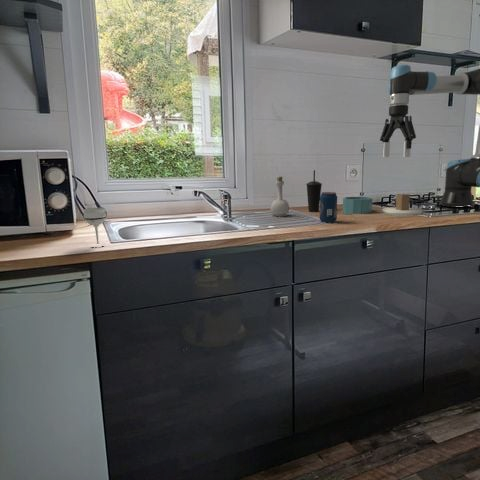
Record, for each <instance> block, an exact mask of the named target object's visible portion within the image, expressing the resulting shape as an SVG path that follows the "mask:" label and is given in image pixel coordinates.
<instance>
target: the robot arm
mask: <svg viewBox="0 0 480 480" xmlns="http://www.w3.org/2000/svg"><path fill="white" fill-rule="evenodd" d="M411 69H412V67H411V65H408V64H400V65H395V66H393V67H392V68H391V70H390V77H389V80H390V81H389V82H390V83H389V85H388V93H389V107H388V116H389V117H390V118H385V122H384V126H383V128H382V133H381V135H380V138H379V141H380V142H382V150H383V152H382V158H390V149H391V142H390V139H391V137H392V136H393V134H394V132H395V131H396V130H398V129H400V131H401V134H402V135H403V137H404V142H403V158H411V151H412V150H411V149H412V143H413V140H414V139H416V138H417V135H416V132H415V128H414V126H413V120H412V118H413V117H412V115H408V114H409V102H410V96H415V95H432V94H433V95H435V94H447V93H448V94H452V93H454V94H456V95H473V96H474V95H480V67H479V68H477V69H474V70H471V71H470V70H469V71H466V72H459V73H457V74H455V75H436V73H435V72H433V71H427V70H425V71H413V70H411ZM478 127H479V128H478V133H477V139H476V147H475V152H474V154H473V155H472V156H471V157H470V158H466V159H465V158H462V159H455V160H449V161H448V162H447V164H446V165H447V166H446V170H445V182H444V183H445V184H444V193H443V194H442V196H441V200H440V201H439V205H440V204H441V205H445V206H464V205H472V204H474V205H475V201H474V198H473V194H472V188H480V125H479V126H478Z"/></svg>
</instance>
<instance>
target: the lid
mask: <svg viewBox="0 0 480 480" xmlns="http://www.w3.org/2000/svg"><path fill="white" fill-rule="evenodd" d="M395 197H396V198H395V207H384V208H382V209H381V210H382V212H383V213H382V214H384V213H386V214H385V215H389V214H394V215H409V216H418V215H417V214H422V212H424V210H423V209H420V208H416V207H410V200H411V199H410V197H411V194H408V193H397V194H396V196H395ZM394 215H393V216H394Z"/></svg>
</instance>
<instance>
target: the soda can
mask: <svg viewBox="0 0 480 480" xmlns="http://www.w3.org/2000/svg"><path fill="white" fill-rule="evenodd" d="M336 193H337V192H335V191H333V192H332V191H323V192H322V191H321V194H320V203H319V220H320V222H321V223H323V222H333V223H336V221H337V219H338V196H337V194H336Z"/></svg>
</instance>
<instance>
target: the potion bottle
mask: <svg viewBox="0 0 480 480" xmlns="http://www.w3.org/2000/svg"><path fill="white" fill-rule="evenodd" d="M283 177H284V176H278V177H277V178H276V180H275V185H276V186H277V199H274V200H273V201H272V203H271V204H270V213H271V214H272V217H275V216H285V217H287V216H288V214H289V212H290V205H289V203H288V200H285V199H283V186H284V181H283Z"/></svg>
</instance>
